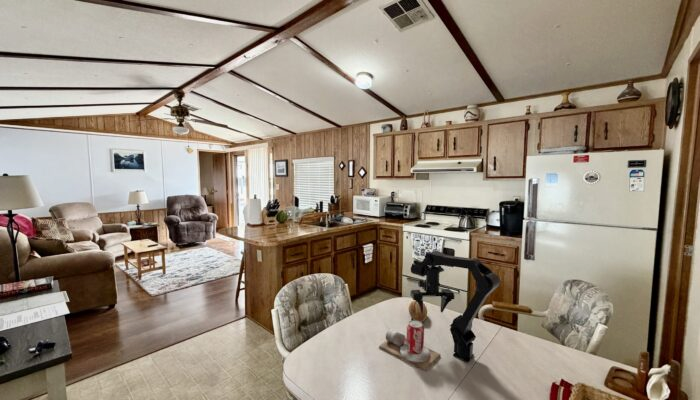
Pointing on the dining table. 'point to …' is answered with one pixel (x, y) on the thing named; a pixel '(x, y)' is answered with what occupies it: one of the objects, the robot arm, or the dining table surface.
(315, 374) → the dining table surface
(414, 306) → the bread roll
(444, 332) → the dining table surface
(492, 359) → the dining table surface
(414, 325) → the soda can
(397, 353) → the duct board
